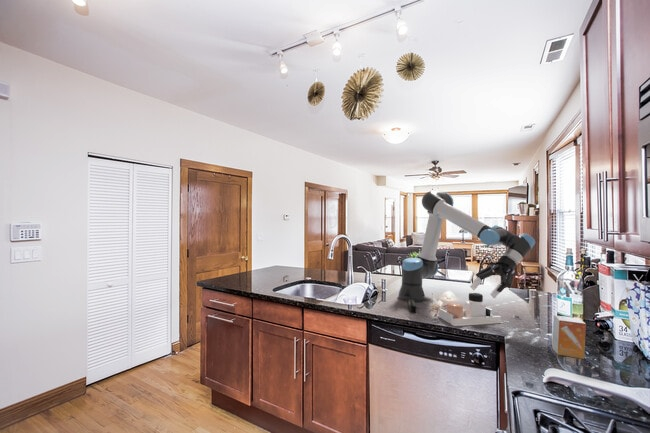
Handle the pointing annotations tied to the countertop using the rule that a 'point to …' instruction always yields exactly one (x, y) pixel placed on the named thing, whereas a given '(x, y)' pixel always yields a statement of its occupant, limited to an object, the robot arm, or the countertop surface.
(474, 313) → the medicine bottle
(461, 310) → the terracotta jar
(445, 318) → the white tray
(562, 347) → the small box
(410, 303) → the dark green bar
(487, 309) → the pusher
